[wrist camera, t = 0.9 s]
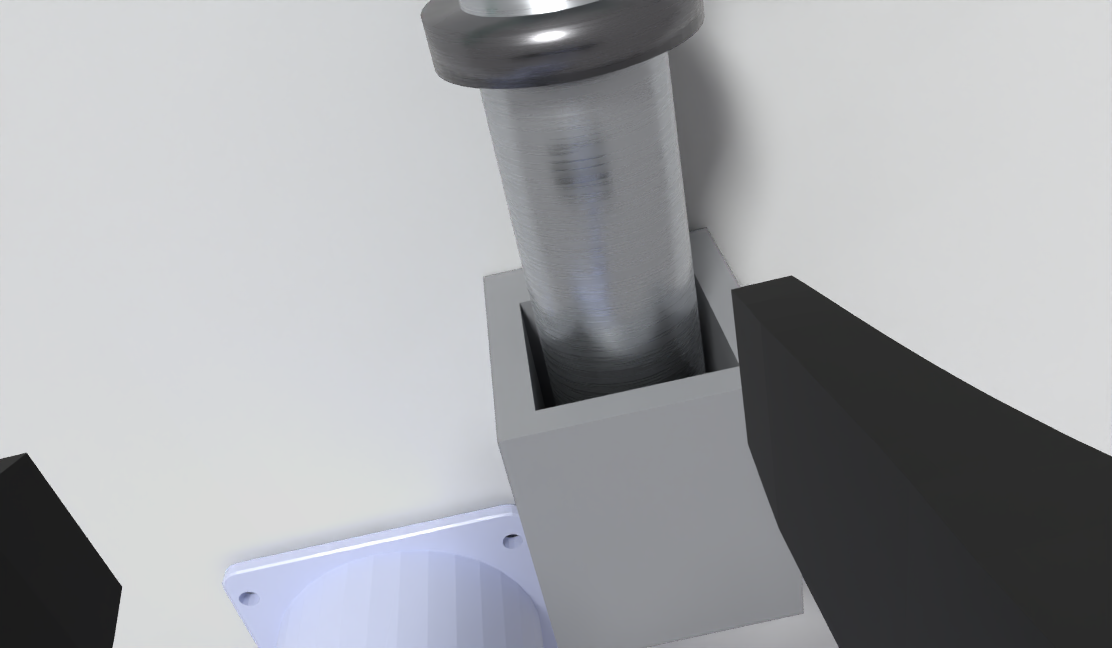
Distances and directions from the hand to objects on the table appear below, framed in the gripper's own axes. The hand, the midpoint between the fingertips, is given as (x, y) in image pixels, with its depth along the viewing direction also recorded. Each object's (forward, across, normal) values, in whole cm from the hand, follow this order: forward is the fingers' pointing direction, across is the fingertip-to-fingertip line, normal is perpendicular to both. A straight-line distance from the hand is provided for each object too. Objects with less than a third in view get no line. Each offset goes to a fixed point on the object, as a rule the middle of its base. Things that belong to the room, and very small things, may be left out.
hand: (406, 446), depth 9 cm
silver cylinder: (+9, -3, +1) cm, 9 cm away
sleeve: (+10, -3, +7) cm, 12 cm away
